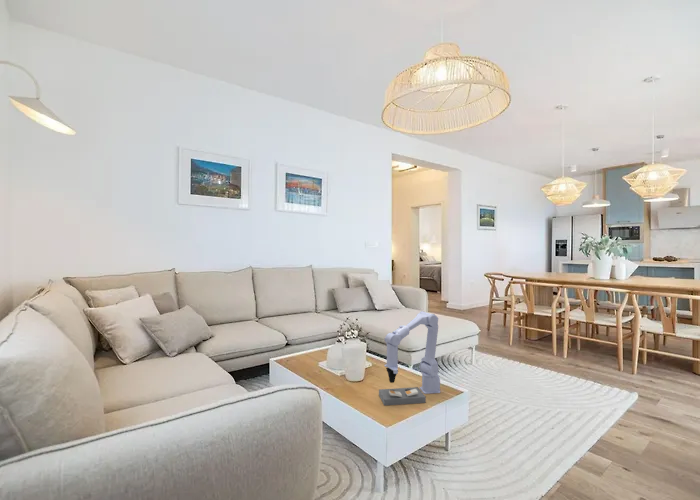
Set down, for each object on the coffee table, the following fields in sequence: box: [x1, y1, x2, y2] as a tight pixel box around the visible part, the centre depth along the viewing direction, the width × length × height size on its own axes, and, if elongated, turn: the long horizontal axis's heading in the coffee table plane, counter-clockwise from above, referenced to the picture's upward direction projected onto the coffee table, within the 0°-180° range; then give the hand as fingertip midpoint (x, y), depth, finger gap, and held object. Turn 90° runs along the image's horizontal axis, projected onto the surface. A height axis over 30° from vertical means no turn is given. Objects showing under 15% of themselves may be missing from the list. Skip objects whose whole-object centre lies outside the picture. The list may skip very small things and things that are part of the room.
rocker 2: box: [405, 389, 418, 397], centre depth 177 cm, size 6×4×1 cm, turn 98°
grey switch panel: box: [378, 386, 427, 406], centre depth 180 cm, size 22×12×3 cm, turn 98°
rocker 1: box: [389, 390, 402, 397], centre depth 176 cm, size 6×4×1 cm, turn 99°
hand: (391, 382), depth 178 cm, fingers closed
